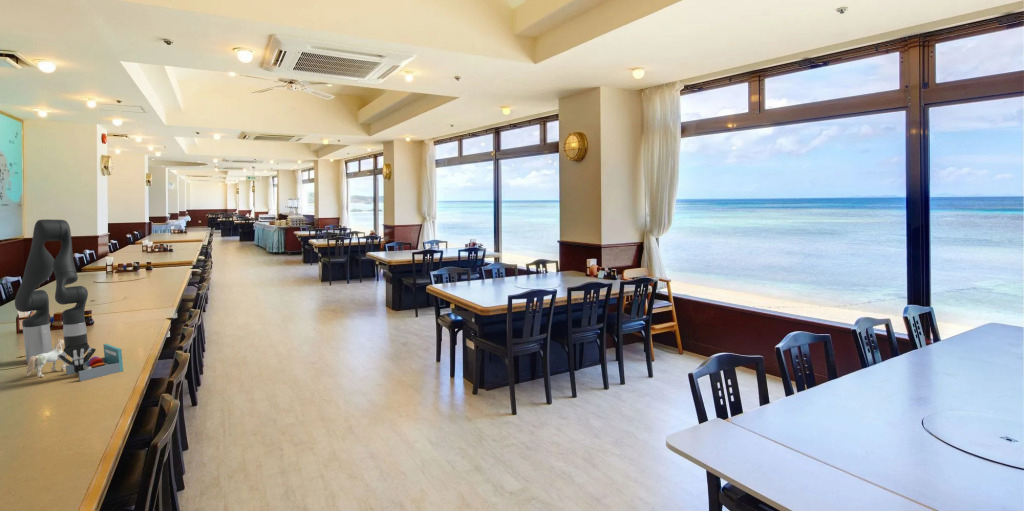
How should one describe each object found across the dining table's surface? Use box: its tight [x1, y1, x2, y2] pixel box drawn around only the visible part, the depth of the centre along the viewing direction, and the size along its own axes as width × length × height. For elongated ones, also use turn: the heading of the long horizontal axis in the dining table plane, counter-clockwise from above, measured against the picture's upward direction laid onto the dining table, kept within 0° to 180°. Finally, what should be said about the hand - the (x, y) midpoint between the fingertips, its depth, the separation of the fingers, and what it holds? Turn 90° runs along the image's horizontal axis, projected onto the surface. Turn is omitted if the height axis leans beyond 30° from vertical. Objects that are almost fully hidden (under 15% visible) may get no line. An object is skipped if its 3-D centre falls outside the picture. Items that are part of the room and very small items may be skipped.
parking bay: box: [65, 343, 124, 382], centre depth 224 cm, size 15×15×10 cm
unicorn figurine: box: [25, 336, 68, 378], centre depth 224 cm, size 7×20×13 cm, turn 4°
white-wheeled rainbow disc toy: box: [83, 356, 109, 370], centre depth 224 cm, size 8×10×7 cm
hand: (78, 372), depth 220 cm, fingers closed
